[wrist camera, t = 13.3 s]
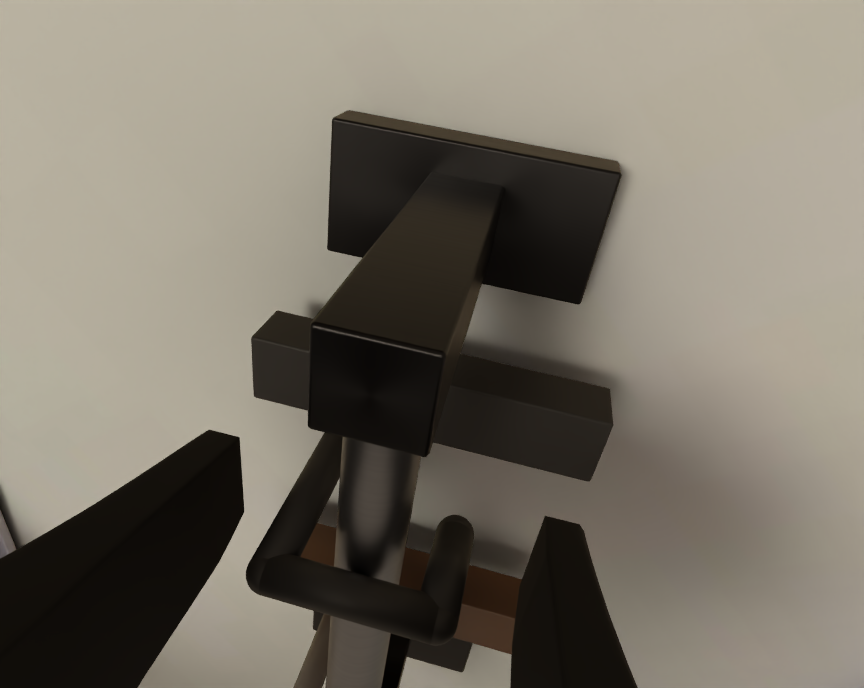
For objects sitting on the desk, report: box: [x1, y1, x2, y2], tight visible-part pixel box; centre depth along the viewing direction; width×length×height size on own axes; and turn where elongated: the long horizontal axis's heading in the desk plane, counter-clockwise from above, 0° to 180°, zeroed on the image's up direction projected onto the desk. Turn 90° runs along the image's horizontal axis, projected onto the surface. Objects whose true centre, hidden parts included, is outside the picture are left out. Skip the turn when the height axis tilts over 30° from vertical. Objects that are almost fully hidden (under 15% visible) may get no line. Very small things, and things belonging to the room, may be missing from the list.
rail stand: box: [308, 110, 622, 688], centre depth 14 cm, size 6×19×8 cm, turn 172°
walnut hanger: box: [294, 523, 522, 688], centre depth 16 cm, size 8×2×7 cm, turn 82°
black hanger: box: [246, 311, 613, 646], centre depth 12 cm, size 8×2×7 cm, turn 82°
